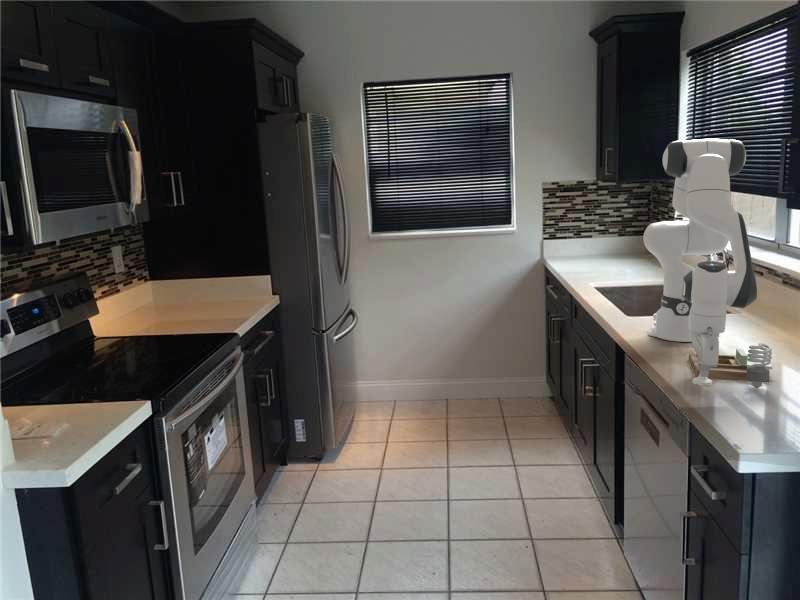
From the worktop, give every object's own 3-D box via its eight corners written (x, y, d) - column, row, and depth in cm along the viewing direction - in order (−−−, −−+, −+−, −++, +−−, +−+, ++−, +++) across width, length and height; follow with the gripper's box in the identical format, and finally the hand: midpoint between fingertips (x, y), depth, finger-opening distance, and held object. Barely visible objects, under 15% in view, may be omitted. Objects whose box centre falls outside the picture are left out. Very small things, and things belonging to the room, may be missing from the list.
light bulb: (758, 392, 172) (762, 347, 170) (739, 386, 177) (743, 342, 175) (773, 389, 174) (778, 344, 172) (754, 383, 179) (758, 339, 177)
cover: (734, 359, 192) (735, 347, 191) (765, 360, 190) (766, 349, 189) (739, 367, 184) (740, 355, 184) (772, 369, 182) (773, 357, 181)
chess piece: (706, 379, 183) (709, 344, 181) (715, 385, 178) (718, 349, 176) (688, 380, 182) (691, 344, 180) (697, 386, 178) (700, 349, 176)
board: (688, 360, 199) (689, 350, 198) (755, 365, 194) (756, 354, 194) (696, 377, 184) (697, 366, 183) (768, 382, 179) (769, 371, 179)
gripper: (727, 334, 166) (722, 387, 169) (713, 315, 185) (709, 363, 188) (699, 332, 168) (695, 385, 171) (689, 314, 187) (685, 361, 190)
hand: (702, 373), depth 180 cm, fingers open, 3 cm apart
